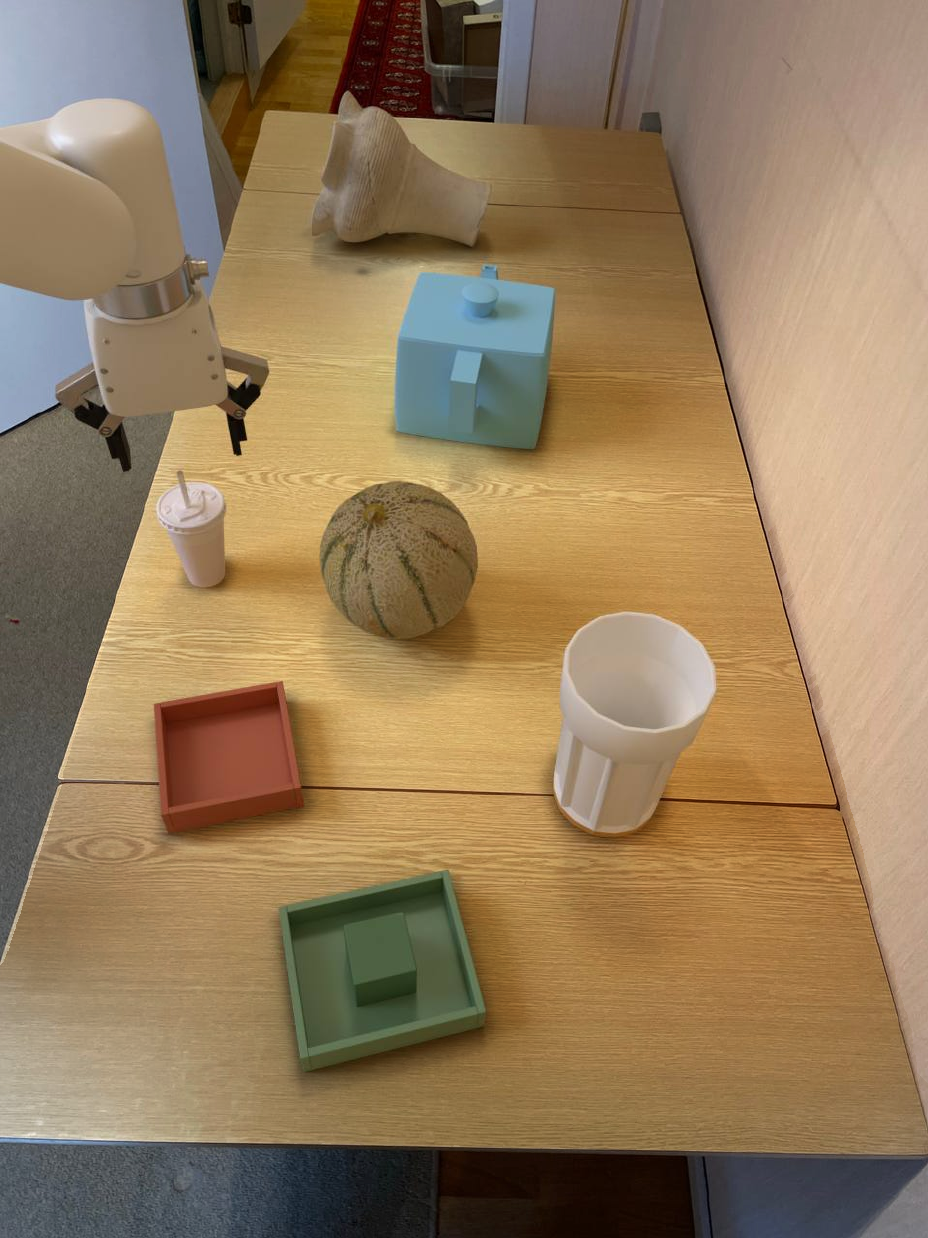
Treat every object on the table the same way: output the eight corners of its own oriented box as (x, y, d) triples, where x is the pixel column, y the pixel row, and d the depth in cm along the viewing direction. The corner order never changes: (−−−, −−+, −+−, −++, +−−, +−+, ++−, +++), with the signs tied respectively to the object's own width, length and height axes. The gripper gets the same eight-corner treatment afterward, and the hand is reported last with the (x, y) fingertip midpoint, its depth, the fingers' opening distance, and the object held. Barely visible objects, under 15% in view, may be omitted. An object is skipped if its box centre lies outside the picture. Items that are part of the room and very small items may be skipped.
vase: (534, 123, 141) (344, 57, 136) (539, 167, 124) (323, 94, 120) (488, 266, 154) (313, 211, 150) (487, 324, 138) (290, 264, 133)
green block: (356, 1007, 72) (354, 985, 68) (345, 949, 74) (342, 924, 71) (416, 993, 72) (417, 970, 69) (403, 935, 75) (403, 911, 72)
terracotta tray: (168, 834, 81) (161, 815, 78) (160, 723, 87) (153, 703, 85) (304, 806, 83) (301, 787, 80) (286, 700, 90) (282, 680, 87)
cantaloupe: (501, 597, 99) (513, 486, 88) (418, 694, 91) (419, 585, 79) (383, 537, 104) (379, 423, 92) (293, 623, 96) (278, 511, 84)
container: (385, 457, 112) (382, 341, 100) (423, 334, 128) (424, 221, 116) (533, 477, 111) (548, 362, 99) (553, 350, 127) (567, 238, 115)
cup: (513, 795, 84) (532, 672, 71) (590, 714, 90) (621, 587, 77) (621, 876, 80) (662, 762, 67) (695, 786, 86) (747, 665, 72)
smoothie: (163, 590, 98) (133, 484, 87) (190, 545, 102) (164, 439, 91) (224, 603, 97) (201, 498, 86) (248, 558, 101) (229, 452, 90)
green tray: (304, 1072, 69) (300, 1059, 67) (282, 923, 76) (278, 906, 74) (484, 1026, 72) (486, 1012, 69) (447, 886, 79) (448, 869, 76)
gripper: (248, 243, 78) (273, 414, 92) (21, 266, 75) (81, 440, 88) (260, 295, 74) (284, 467, 87) (18, 322, 71) (82, 496, 84)
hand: (182, 453), depth 88 cm, fingers open, 9 cm apart
